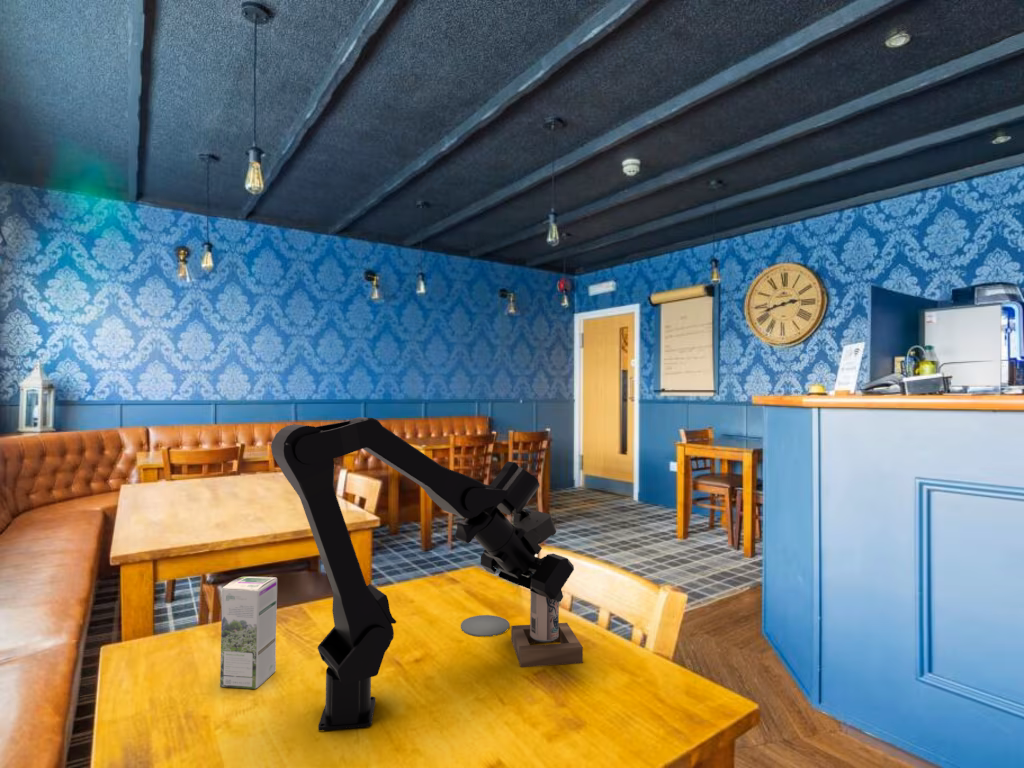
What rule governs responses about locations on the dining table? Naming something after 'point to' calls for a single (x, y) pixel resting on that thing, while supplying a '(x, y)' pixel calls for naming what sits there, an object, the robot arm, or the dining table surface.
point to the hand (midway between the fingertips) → (551, 594)
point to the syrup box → (248, 632)
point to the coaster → (484, 625)
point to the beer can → (544, 618)
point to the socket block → (546, 647)
